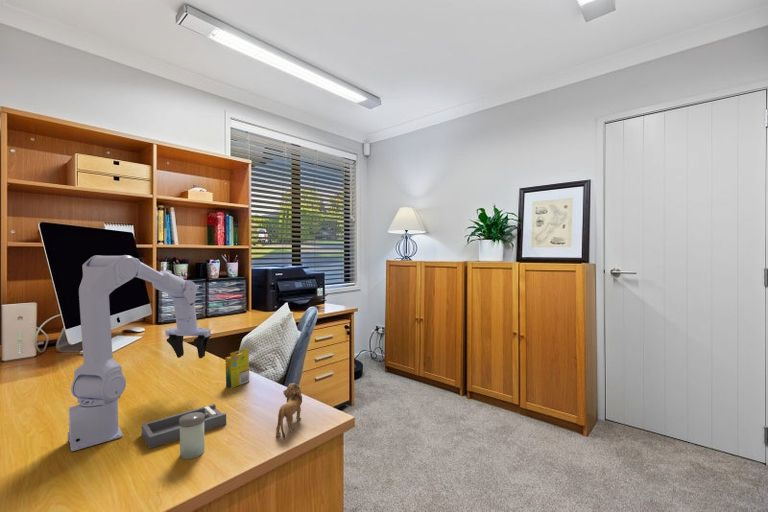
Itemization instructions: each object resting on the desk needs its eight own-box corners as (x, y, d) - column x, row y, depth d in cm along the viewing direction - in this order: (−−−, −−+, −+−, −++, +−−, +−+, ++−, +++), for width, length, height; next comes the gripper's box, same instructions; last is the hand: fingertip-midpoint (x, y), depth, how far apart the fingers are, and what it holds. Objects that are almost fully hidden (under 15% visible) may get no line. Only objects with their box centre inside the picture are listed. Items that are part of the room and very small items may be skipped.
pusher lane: (149, 448, 83) (149, 437, 83) (141, 434, 89) (141, 424, 89) (226, 424, 95) (226, 414, 94) (214, 413, 101) (214, 403, 101)
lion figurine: (284, 413, 100) (283, 381, 100) (303, 412, 101) (303, 380, 101) (273, 441, 86) (273, 403, 86) (296, 440, 86) (296, 402, 86)
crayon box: (244, 380, 127) (243, 346, 127) (249, 381, 125) (249, 347, 125) (225, 387, 121) (224, 351, 120) (231, 388, 119) (230, 353, 119)
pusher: (193, 428, 90) (193, 420, 90) (185, 420, 95) (185, 412, 95) (216, 421, 94) (216, 413, 94) (208, 413, 99) (208, 406, 99)
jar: (183, 462, 78) (182, 424, 77) (176, 452, 81) (176, 417, 81) (208, 453, 81) (207, 417, 81) (200, 444, 85) (200, 410, 84)
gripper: (214, 312, 119) (219, 352, 122) (174, 312, 121) (179, 351, 124) (200, 320, 113) (206, 361, 115) (158, 319, 115) (164, 360, 117)
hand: (191, 356), depth 119 cm, fingers open, 7 cm apart
